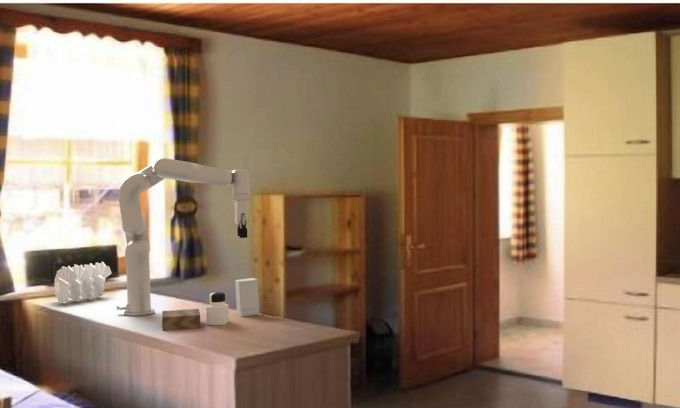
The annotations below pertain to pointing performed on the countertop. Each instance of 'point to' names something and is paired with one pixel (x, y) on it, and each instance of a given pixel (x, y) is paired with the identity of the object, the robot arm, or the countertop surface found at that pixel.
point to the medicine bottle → (217, 309)
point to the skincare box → (247, 297)
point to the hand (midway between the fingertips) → (242, 236)
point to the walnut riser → (180, 319)
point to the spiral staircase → (80, 281)
